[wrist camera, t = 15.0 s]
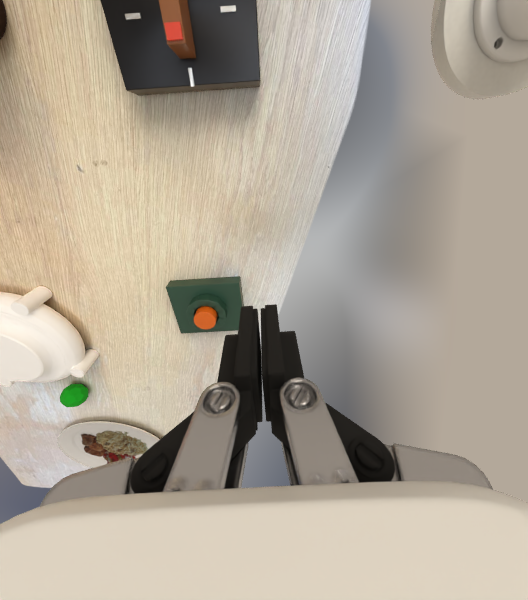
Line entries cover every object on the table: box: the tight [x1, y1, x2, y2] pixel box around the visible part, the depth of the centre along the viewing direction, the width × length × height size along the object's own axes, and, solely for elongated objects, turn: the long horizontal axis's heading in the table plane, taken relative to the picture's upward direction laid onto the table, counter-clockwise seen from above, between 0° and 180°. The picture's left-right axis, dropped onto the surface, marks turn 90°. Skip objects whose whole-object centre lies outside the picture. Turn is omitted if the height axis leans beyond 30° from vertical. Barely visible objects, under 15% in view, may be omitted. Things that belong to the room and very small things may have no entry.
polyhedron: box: [60, 384, 88, 407], centre depth 53 cm, size 5×5×5 cm
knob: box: [159, 0, 196, 59], centre depth 20 cm, size 6×2×4 cm, turn 3°
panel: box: [101, 0, 260, 95], centre depth 23 cm, size 14×10×3 cm
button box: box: [166, 277, 244, 333], centre depth 41 cm, size 12×10×4 cm
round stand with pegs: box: [0, 286, 99, 387], centre depth 43 cm, size 24×24×7 cm
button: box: [194, 306, 217, 329], centre depth 39 cm, size 4×4×2 cm
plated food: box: [57, 421, 160, 468], centre depth 68 cm, size 30×30×3 cm
